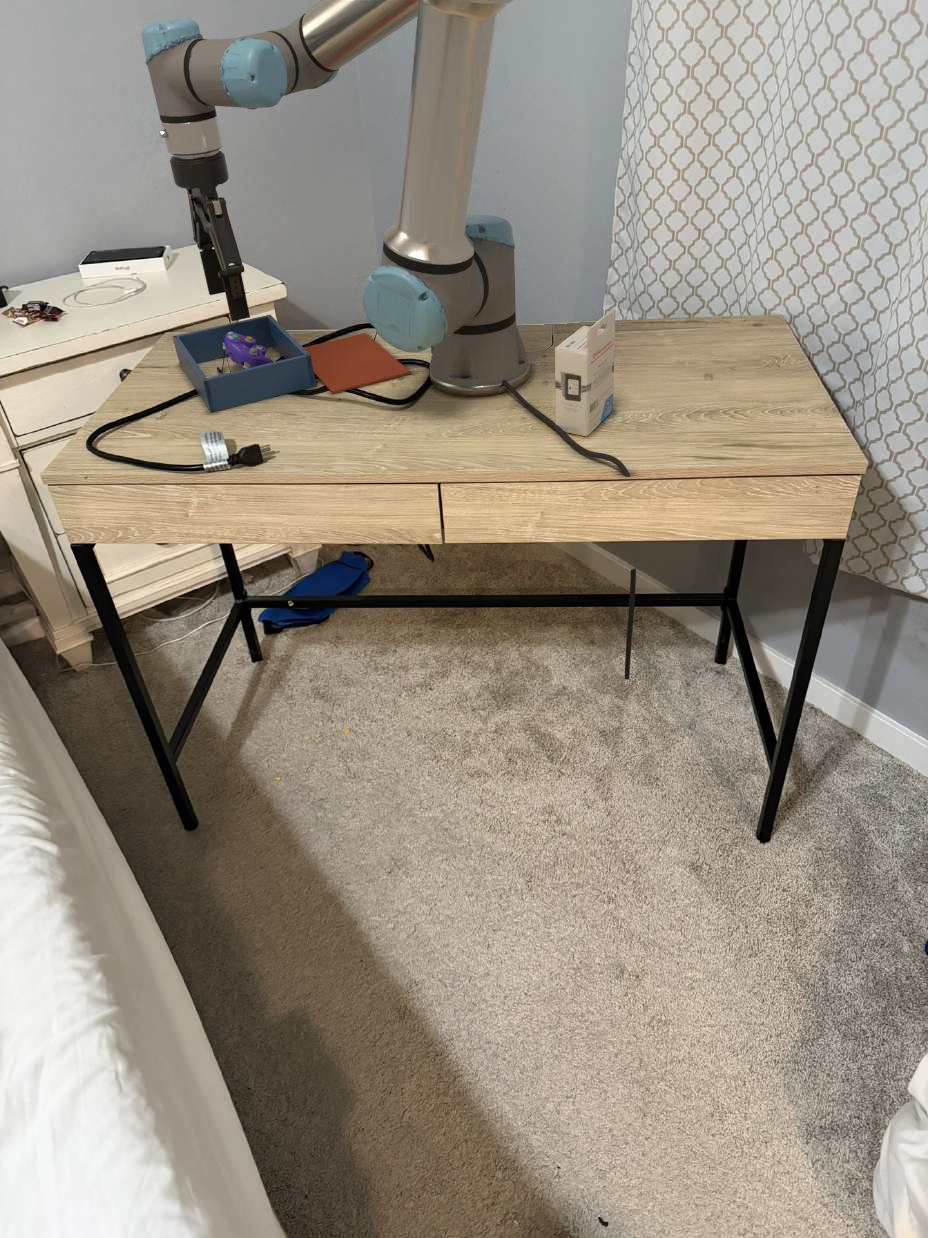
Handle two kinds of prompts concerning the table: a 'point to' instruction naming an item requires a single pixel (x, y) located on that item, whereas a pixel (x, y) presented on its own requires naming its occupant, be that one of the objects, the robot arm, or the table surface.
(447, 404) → the table surface
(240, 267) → the robot arm
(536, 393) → the table surface
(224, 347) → the game controller
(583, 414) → the ink box
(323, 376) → the mat
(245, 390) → the box
